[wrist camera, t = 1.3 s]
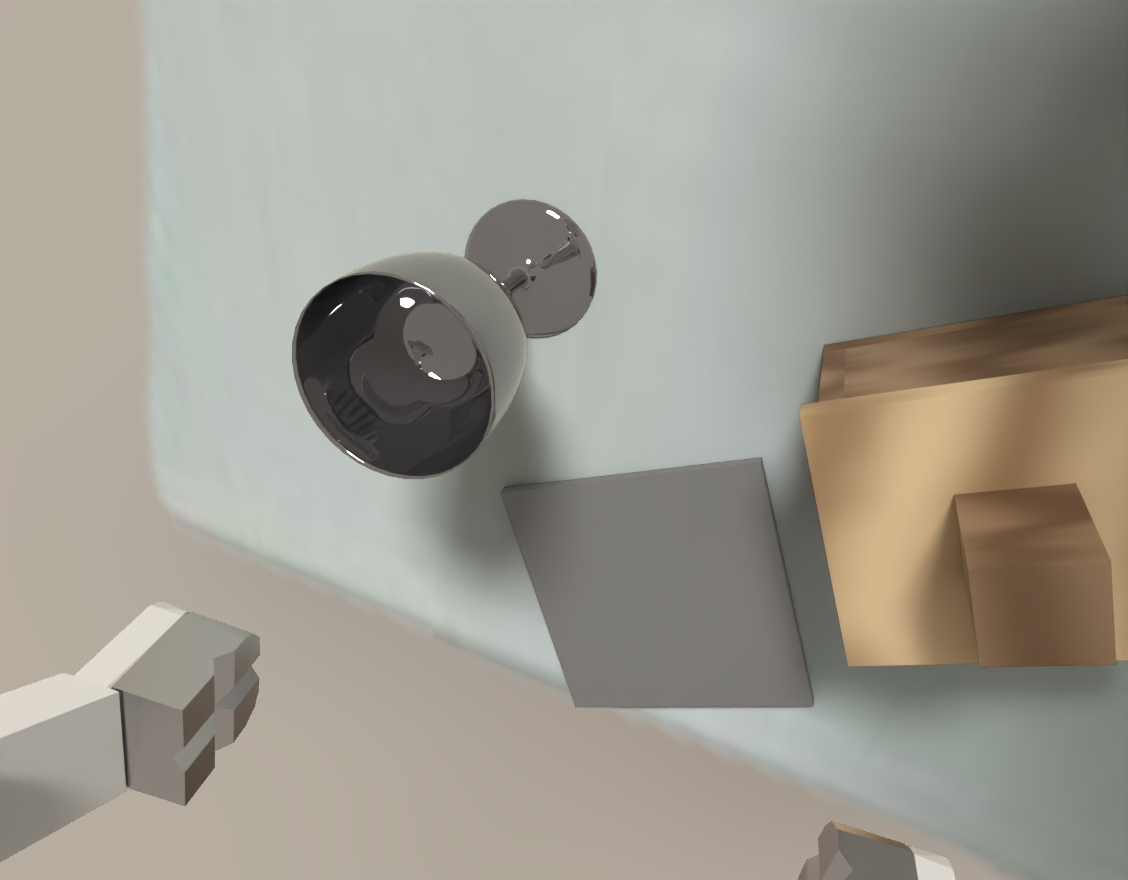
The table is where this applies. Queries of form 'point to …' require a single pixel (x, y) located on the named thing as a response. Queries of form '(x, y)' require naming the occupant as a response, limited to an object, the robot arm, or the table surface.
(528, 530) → the mat
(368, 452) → the wine glass
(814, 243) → the table surface
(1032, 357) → the storage box
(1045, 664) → the lid
